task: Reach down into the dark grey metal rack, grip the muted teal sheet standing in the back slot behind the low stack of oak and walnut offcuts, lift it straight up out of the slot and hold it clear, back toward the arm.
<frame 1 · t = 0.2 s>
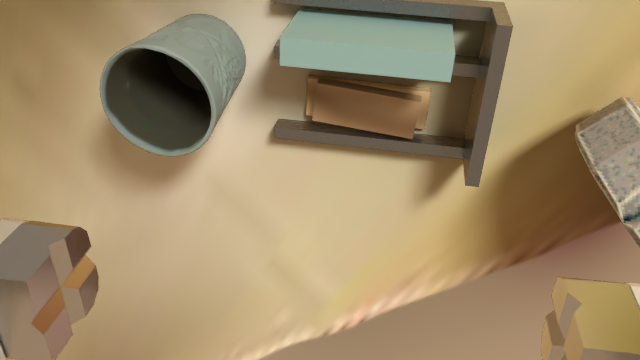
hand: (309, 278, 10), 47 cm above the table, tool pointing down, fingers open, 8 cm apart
offcut oak: (368, 97, 60), on the table, touching offcut walnut
offcut walnut: (366, 105, 59), point 1 cm above the table, touching offcut oak
teal sheet: (374, 26, 56), on the table
offcut rack: (369, 77, 58), on the table
grey-green bin: (203, 55, 60), on the table
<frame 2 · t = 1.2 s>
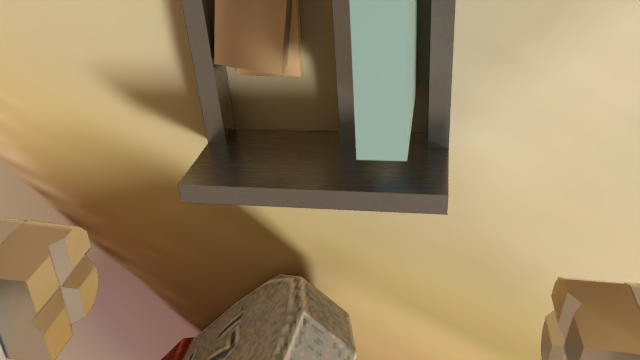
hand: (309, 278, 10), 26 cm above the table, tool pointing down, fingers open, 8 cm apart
decorative stone tablet: (230, 340, 50), on the table
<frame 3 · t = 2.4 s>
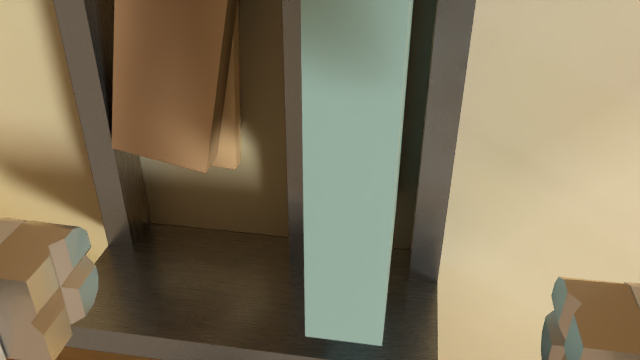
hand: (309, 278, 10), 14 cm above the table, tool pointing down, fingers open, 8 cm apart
offcut oak: (196, 16, 24), on the table, touching offcut walnut
offcut walnut: (181, 32, 23), point 1 cm above the table, touching offcut oak
teal sheet: (378, 30, 22), on the table
offcut rack: (248, 25, 23), on the table
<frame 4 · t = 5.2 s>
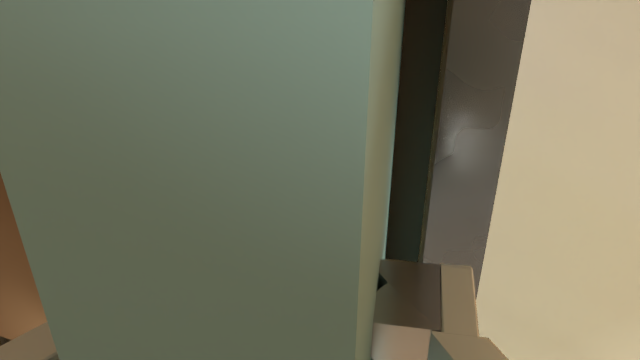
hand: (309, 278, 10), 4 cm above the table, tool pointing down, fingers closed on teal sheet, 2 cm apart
offcut walnut: (39, 152, 14), point 1 cm above the table, touching offcut oak
teal sheet: (341, 162, 14), on the table, touching gripper
offcut rack: (137, 146, 15), on the table
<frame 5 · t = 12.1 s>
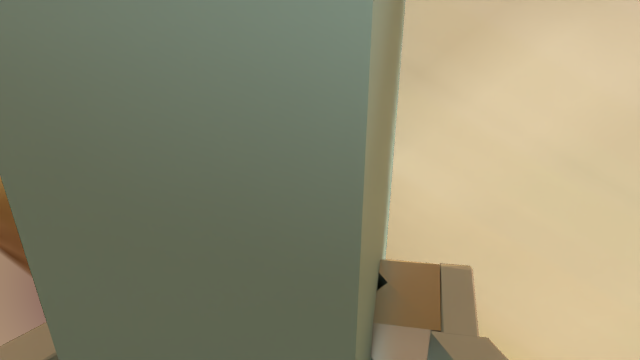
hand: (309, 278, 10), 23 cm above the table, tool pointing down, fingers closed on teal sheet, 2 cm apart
teal sheet: (340, 163, 14), point 19 cm above the table, touching gripper
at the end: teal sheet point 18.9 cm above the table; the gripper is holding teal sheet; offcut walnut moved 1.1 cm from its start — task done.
